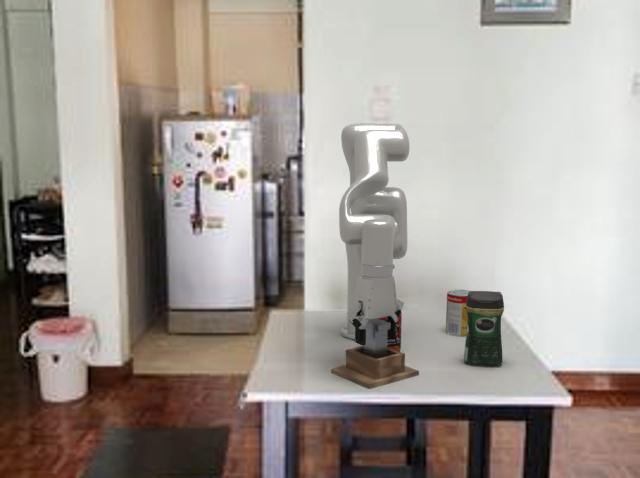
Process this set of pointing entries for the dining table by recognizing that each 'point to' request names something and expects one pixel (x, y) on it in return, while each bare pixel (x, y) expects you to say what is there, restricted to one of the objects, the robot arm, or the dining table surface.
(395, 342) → the canned food
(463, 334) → the canned food
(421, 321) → the dining table surface
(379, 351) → the grey boxy piece
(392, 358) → the well block
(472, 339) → the coffee jar
